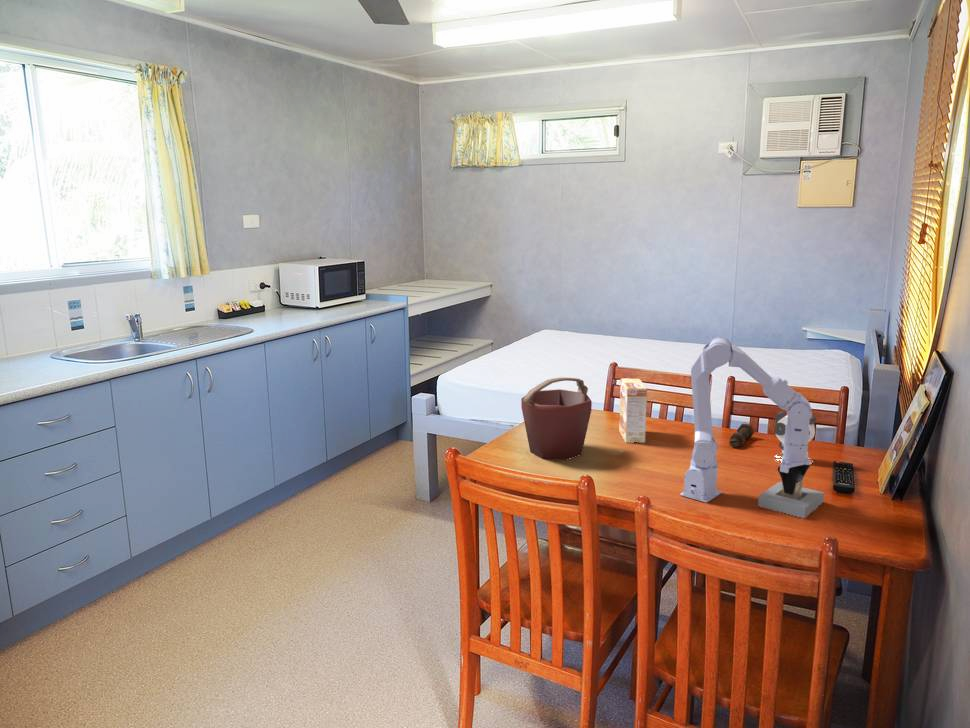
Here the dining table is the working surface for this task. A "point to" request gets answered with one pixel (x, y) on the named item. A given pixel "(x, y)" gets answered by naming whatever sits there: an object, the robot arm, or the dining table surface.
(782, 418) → the panda figurine
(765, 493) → the socket board
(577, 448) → the bucket
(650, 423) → the dining table surface
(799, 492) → the peg
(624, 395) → the coffeecake box
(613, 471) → the dining table surface
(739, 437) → the dark brown cylinder
